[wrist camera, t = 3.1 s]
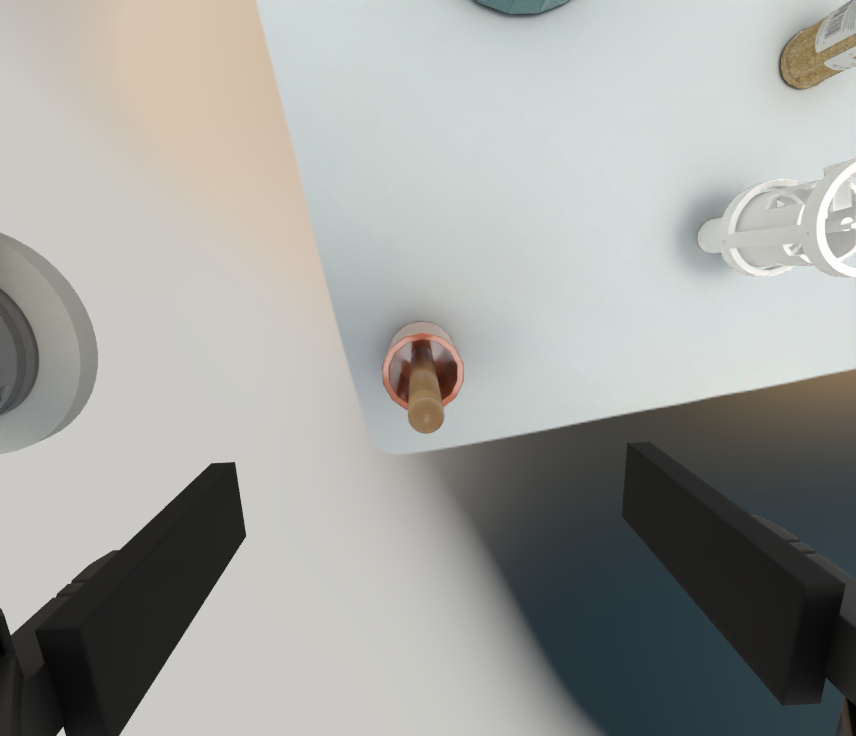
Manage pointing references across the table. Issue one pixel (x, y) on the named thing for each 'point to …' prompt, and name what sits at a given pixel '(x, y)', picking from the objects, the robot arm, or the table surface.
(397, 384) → the utensil pot
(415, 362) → the stick
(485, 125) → the table surface
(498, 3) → the bowl
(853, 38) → the sprinkles bottle
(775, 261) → the white cylindrical cage
